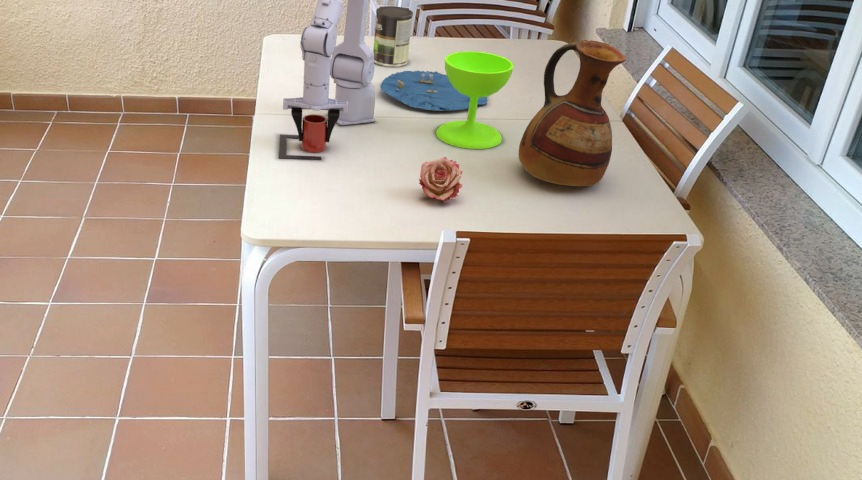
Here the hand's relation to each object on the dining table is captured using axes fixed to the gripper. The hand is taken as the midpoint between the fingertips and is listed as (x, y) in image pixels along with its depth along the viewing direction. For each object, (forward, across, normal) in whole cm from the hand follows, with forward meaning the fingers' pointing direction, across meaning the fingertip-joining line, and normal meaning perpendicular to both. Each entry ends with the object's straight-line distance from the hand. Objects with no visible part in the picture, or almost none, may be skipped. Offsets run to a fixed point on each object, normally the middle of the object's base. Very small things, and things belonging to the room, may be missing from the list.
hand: (313, 140), depth 222 cm
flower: (+2, +26, -24) cm, 36 cm away
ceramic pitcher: (+2, +55, -11) cm, 56 cm away
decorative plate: (+2, +32, +40) cm, 51 cm away
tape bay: (+2, -3, 0) cm, 4 cm away
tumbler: (+2, 0, 0) cm, 2 cm away
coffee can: (+2, +23, +66) cm, 70 cm away
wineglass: (+2, +38, +11) cm, 40 cm away
